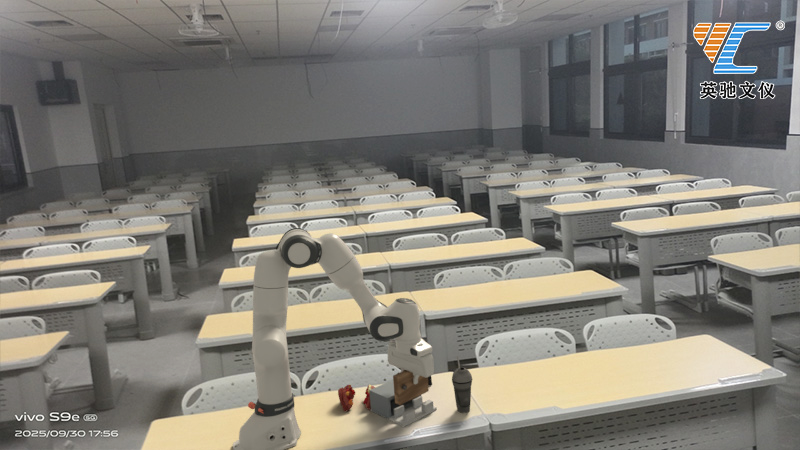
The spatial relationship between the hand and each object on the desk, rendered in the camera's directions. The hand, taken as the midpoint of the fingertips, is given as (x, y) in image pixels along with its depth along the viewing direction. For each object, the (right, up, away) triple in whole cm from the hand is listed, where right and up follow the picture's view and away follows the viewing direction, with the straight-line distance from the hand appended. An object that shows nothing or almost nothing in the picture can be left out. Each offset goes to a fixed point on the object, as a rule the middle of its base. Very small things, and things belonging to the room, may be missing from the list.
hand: (411, 382), depth 207 cm
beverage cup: (+19, -11, +3) cm, 22 cm away
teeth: (-19, -12, +13) cm, 26 cm away
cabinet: (-3, -12, +6) cm, 13 cm away
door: (0, -6, +1) cm, 6 cm away
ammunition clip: (+3, -8, +25) cm, 27 cm away
